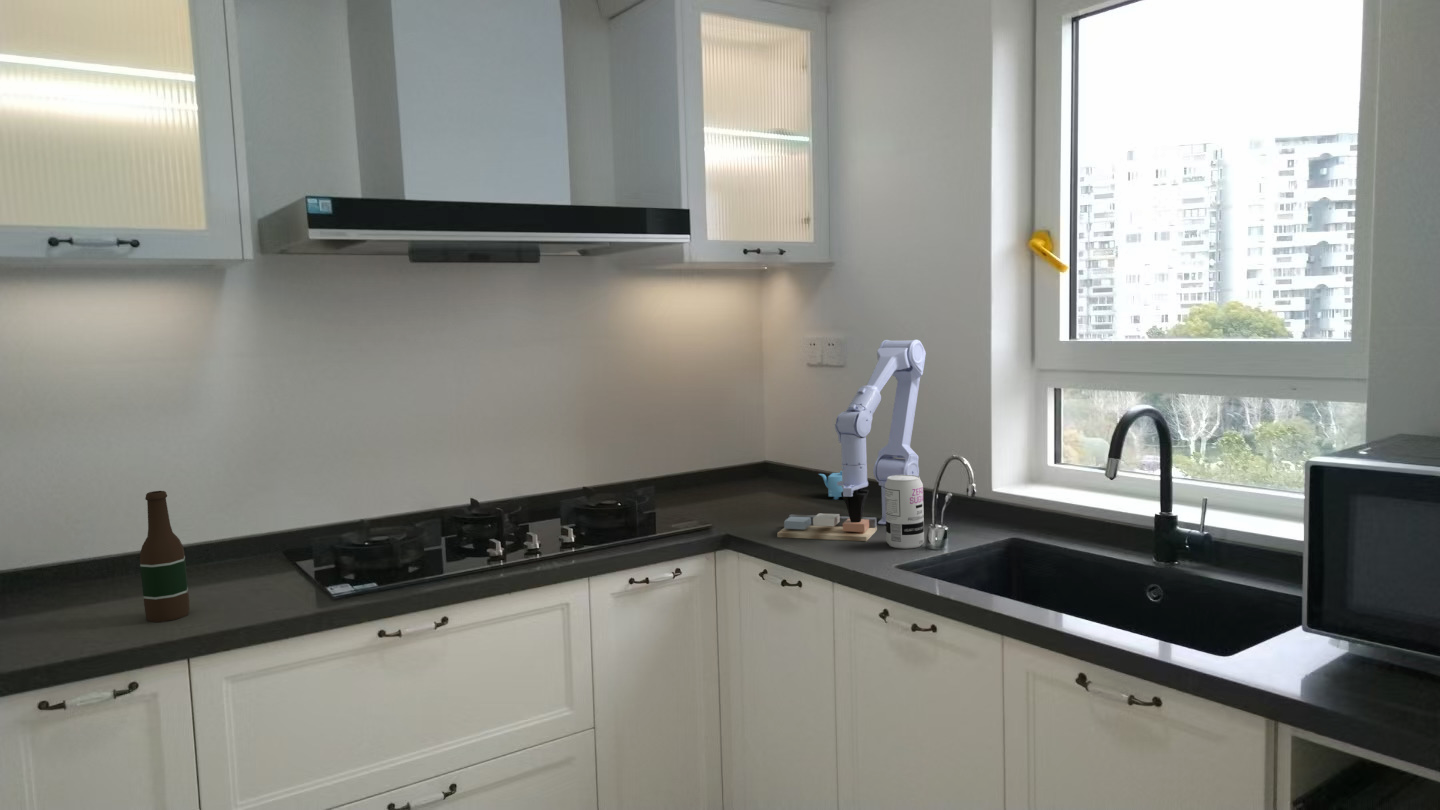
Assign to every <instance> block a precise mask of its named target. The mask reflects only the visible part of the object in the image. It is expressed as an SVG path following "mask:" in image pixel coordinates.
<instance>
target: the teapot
mask: <svg viewBox="0 0 1440 810" xmlns="http://www.w3.org/2000/svg"><path fill="white" fill-rule="evenodd" d="M818 475H819V476H821V478H822V479H823V483H824V484H825V487H826V489H827V490H828V493H827V494H828V497H830V498H831V497H833V498H832V500H839V499H840V498H842V496H841V492H843V487H842V486H838V485H837V482H839V481H842V470H840V471H839V472H832V473H830V474H829V475H828V476H826V474H824V473H818Z"/></svg>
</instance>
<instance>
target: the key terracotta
mask: <svg viewBox="0 0 1440 810" xmlns="http://www.w3.org/2000/svg"><path fill="white" fill-rule="evenodd" d="M868 528H869V519H861V521H860V522H851V520H850V519H847V520H846V521H845V522H844V523H843V531H852V532H865V531H866V530H867V529H868Z"/></svg>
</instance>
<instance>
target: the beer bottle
mask: <svg viewBox="0 0 1440 810" xmlns="http://www.w3.org/2000/svg"><path fill="white" fill-rule="evenodd" d="M167 497H168V494H167V492H166V491H165V490H153V491H149V492H146V493H145V498H144V500H146V501H147V527H148V529H147V537H146V538H145V539H144V542H143V544H142V546H141V548H140V549H141V550H140V553H139V567H140V579H141V586H142V596H143V605H144V615H145V619H146V621H147V622H151V623H152V622H153V623H164V622H170V621H177V620H179V619H183V618H184V617H187V616H189V614H190V613H189V612H190V595H189V585H188V573H187V563H186V555H185V550H184V545H183V544H182V542H181V540H180V538H179V537H178V536H177V535H176V534H175V533H174V532H173V528H172V526H171V520H170V514H169V509H168V503H167Z"/></svg>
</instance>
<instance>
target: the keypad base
mask: <svg viewBox="0 0 1440 810" xmlns="http://www.w3.org/2000/svg"><path fill="white" fill-rule="evenodd" d="M816 515H817V514H816ZM816 515H814V514H812V515H811V514H792V513H791V514H789V515H788V518H789V517H811V525H810V526H809V527H808V528H806V529H805V530H804V529H785V528H784V527H783V528H782V529H780V530H779V531H778V532H777V535H776V536H777V538H789V539H809V540H810V539H811V540H813V539H814V540H830V541H831V540H833V541H834V540H835V541H852V542H853V541H854V542H855V541H857V542H868V541H869V539H870V538H871V537H872V536H873V535H874V534H875V533H876V532H877V530H878V522H877V521H878V520H877V519H878V518H877V517H875V516H874V517H869V516H868V517H867V516H862V519H869V528H868V529H867V530H866V531H865V532H852V531H843V523H844V522H845V521H846V520H847V519H850V517H849V516H845V515H843V516H842V515H841V516H840V515H839V516H840V522H839V523H838V524H836V525H835V526H813V518H814V517H815V516H816ZM788 518H787V519H788Z"/></svg>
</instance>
